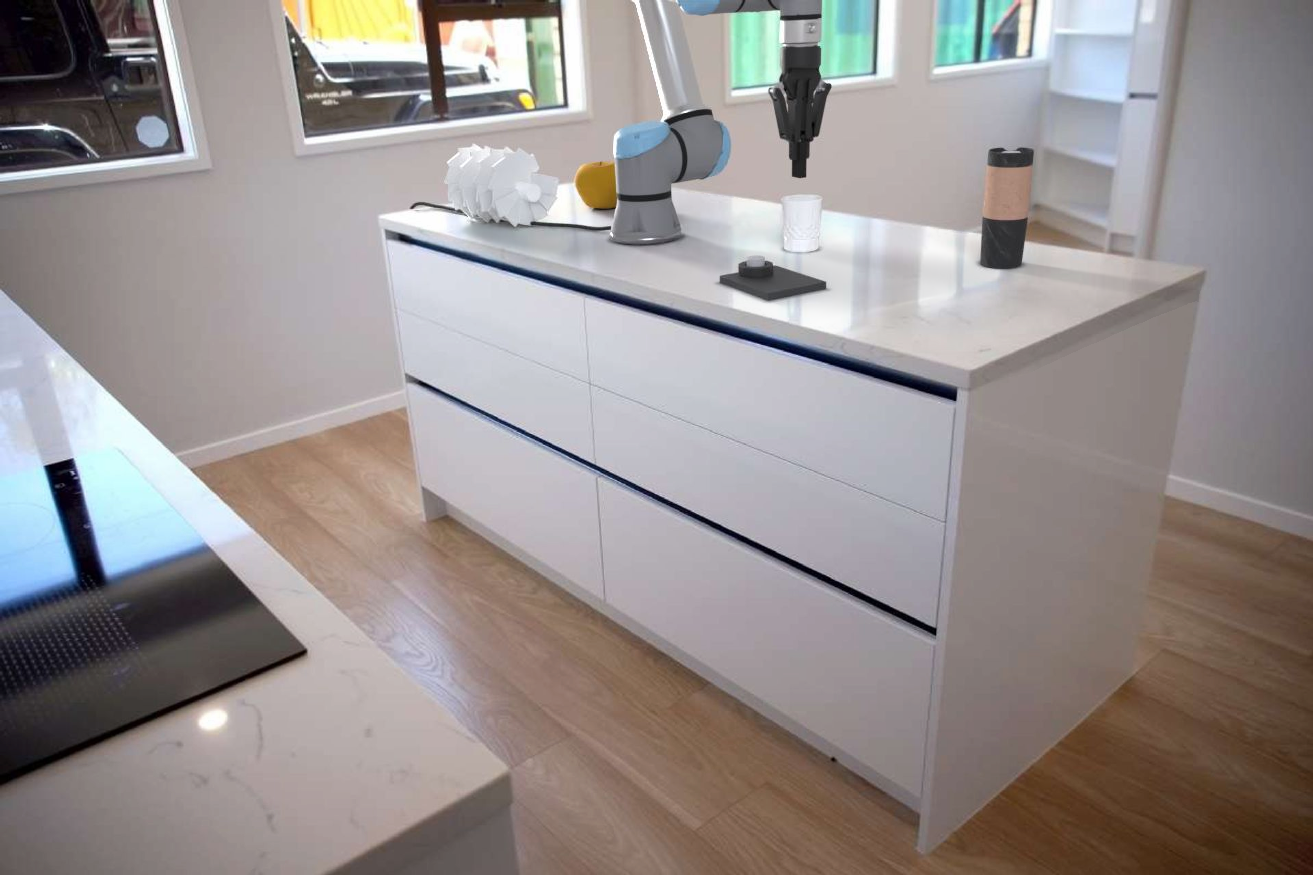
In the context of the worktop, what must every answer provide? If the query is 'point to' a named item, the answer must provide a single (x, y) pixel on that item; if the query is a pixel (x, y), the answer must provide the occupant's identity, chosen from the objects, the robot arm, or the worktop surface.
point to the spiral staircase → (499, 185)
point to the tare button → (755, 261)
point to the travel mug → (1006, 207)
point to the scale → (771, 281)
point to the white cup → (801, 222)
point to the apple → (597, 184)
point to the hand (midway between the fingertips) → (799, 177)
